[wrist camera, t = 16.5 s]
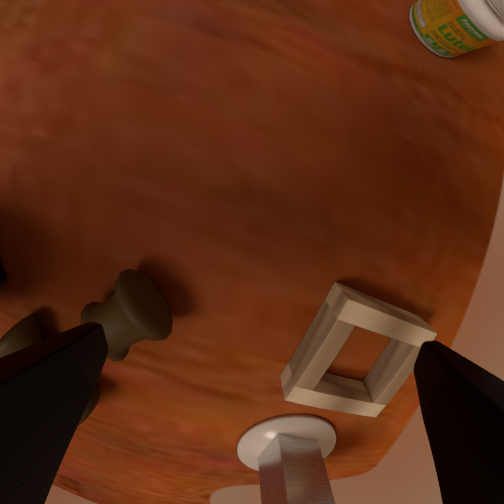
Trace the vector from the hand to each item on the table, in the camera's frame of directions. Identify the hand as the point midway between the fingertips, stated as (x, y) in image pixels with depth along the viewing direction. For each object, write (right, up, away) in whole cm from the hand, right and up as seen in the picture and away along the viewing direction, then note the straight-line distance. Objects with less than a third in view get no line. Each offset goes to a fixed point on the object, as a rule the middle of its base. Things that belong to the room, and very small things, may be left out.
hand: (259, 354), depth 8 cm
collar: (+8, -5, +16) cm, 18 cm away
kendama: (-15, -5, +15) cm, 22 cm away
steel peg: (+3, -17, +18) cm, 25 cm away
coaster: (+3, -17, +19) cm, 26 cm away
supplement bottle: (+14, +20, +9) cm, 26 cm away
